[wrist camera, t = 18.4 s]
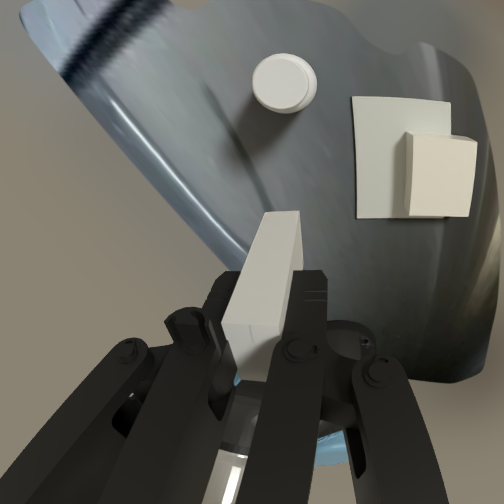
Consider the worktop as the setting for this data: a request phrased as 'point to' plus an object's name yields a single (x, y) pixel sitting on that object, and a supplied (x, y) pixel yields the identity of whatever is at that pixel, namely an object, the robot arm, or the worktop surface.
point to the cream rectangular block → (439, 174)
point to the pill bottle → (284, 83)
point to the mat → (390, 149)
